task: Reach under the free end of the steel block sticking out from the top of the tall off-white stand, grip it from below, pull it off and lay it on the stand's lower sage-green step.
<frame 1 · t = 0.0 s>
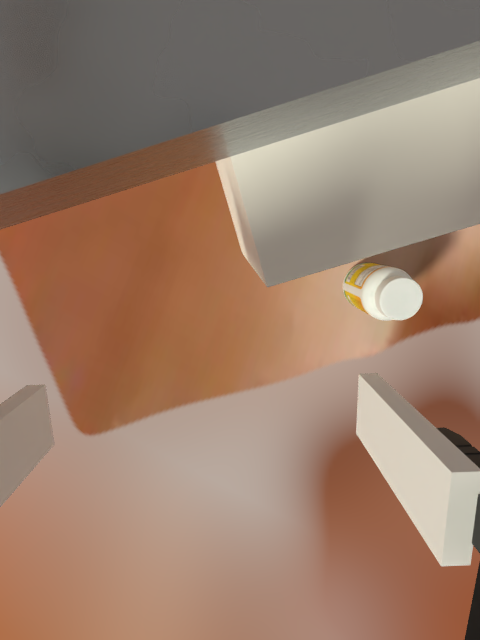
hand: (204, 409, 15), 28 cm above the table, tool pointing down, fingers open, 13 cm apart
steel block: (343, 54, 11), point 30 cm above the table, touching two-step stand
supplement bottle: (363, 285, 43), on the table
two-step stand: (296, 178, 40), on the table
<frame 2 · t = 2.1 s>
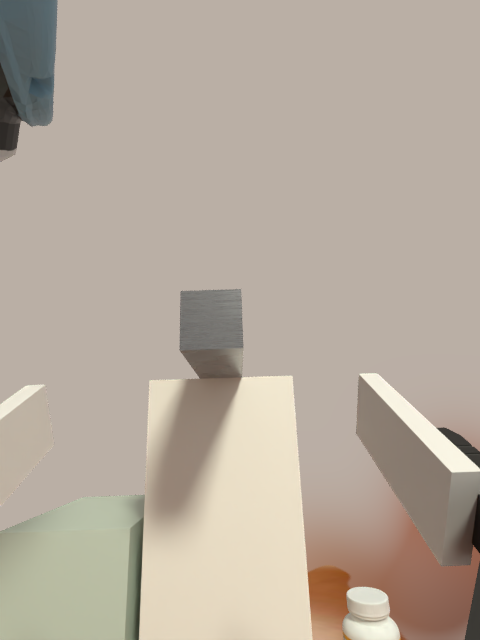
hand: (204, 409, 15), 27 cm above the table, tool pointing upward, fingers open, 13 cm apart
steel block: (223, 384, 34), point 30 cm above the table, touching two-step stand
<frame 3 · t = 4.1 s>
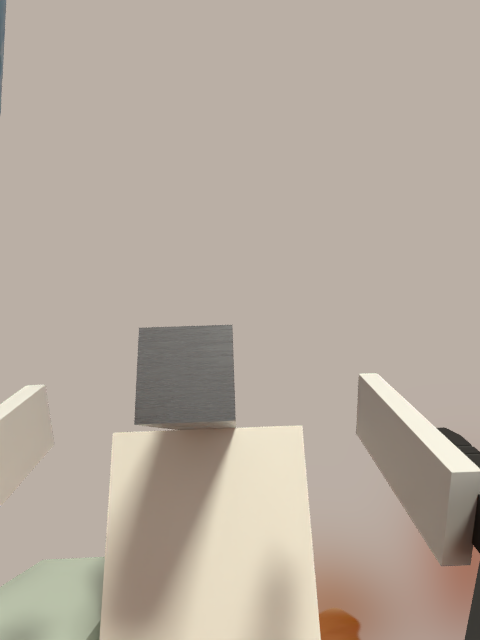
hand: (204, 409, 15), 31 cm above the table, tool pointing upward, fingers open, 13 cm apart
steel block: (212, 430, 27), point 30 cm above the table, touching two-step stand
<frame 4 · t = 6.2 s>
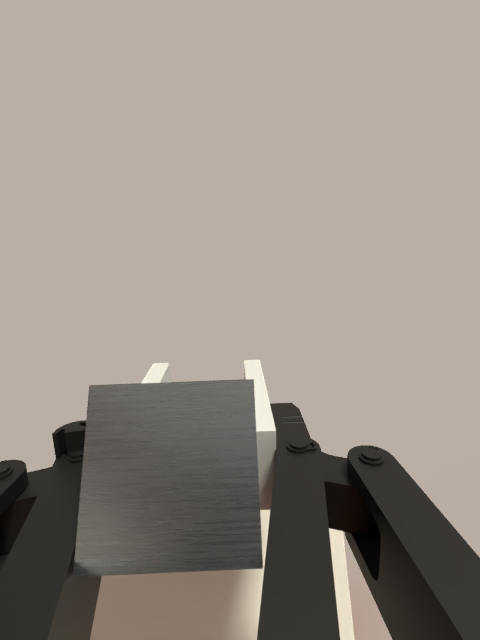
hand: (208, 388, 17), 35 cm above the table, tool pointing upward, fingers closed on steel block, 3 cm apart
steel block: (216, 478, 21), point 30 cm above the table, touching gripper, two-step stand
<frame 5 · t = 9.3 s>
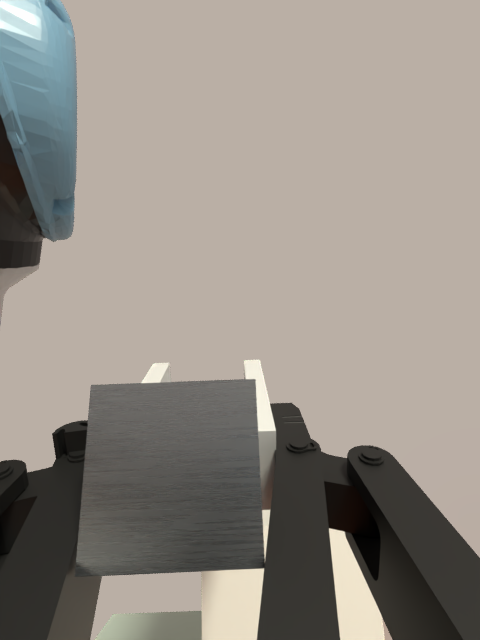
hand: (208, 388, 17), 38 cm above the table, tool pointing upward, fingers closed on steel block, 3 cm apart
steel block: (216, 478, 21), point 34 cm above the table, touching gripper
when the fingers open (25 cm above the table, at t = 12.5 s): steel block drops 2 cm, resting on two-step stand.
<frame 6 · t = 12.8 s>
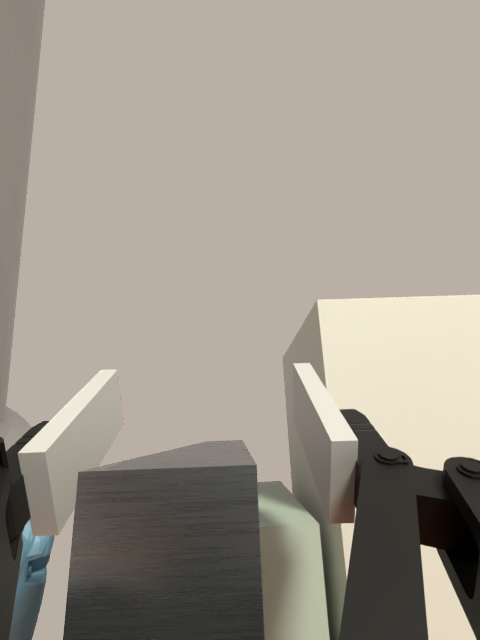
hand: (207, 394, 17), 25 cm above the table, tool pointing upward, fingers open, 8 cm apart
steel block: (215, 511, 20), point 19 cm above the table, touching two-step stand
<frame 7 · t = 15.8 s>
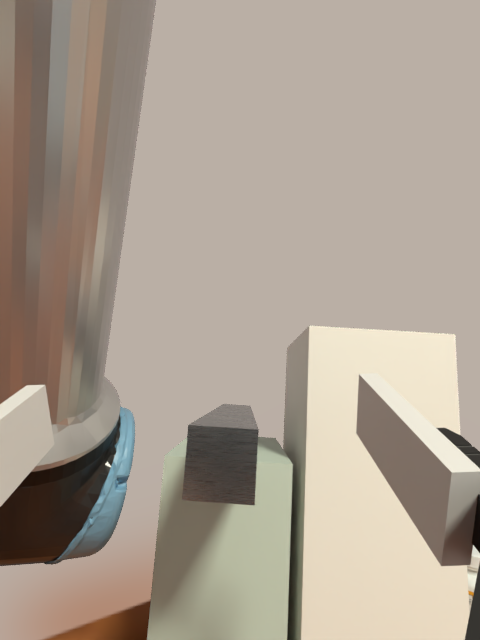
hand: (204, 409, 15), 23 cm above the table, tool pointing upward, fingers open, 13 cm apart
steel block: (230, 451, 32), point 19 cm above the table, touching two-step stand
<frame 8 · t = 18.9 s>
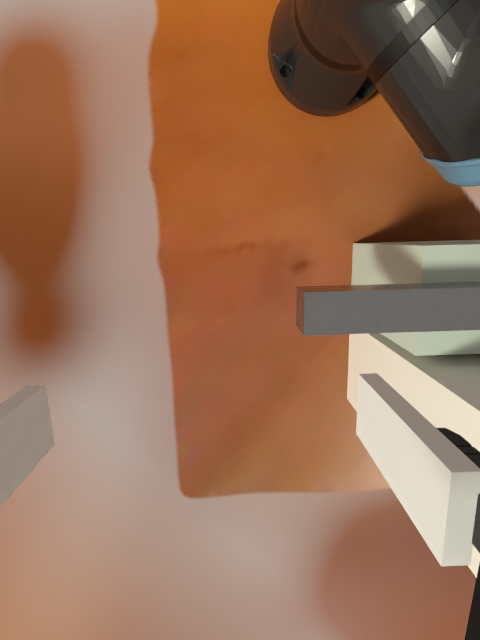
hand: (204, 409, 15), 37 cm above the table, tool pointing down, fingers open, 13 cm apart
steel block: (463, 301, 33), point 19 cm above the table, touching two-step stand
two-step stand: (402, 358, 54), on the table
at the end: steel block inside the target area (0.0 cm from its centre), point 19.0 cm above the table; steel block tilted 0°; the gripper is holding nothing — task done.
